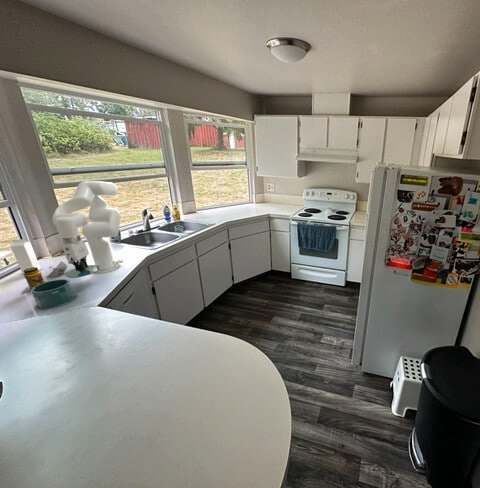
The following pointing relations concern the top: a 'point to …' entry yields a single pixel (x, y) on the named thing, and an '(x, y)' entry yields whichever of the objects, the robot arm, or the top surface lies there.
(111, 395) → the top surface
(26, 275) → the condiment
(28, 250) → the milk
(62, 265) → the paper boat
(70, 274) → the lid
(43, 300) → the pot
